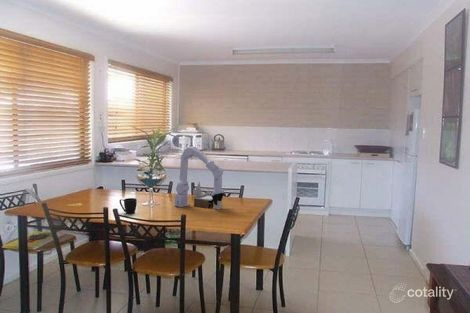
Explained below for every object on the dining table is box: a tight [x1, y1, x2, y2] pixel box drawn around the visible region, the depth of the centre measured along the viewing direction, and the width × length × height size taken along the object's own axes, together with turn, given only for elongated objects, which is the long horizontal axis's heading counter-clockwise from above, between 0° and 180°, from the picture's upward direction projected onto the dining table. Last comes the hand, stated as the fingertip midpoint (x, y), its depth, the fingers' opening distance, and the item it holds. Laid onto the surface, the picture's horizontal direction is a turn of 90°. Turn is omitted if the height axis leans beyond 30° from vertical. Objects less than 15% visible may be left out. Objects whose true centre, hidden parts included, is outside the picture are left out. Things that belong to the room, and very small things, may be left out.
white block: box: [212, 201, 223, 210], centre depth 290 cm, size 4×4×5 cm
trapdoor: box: [196, 194, 213, 201], centre depth 300 cm, size 12×12×2 cm
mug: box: [118, 197, 138, 215], centre depth 272 cm, size 8×12×10 cm
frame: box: [193, 198, 214, 209], centre depth 300 cm, size 15×12×6 cm
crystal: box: [192, 181, 210, 199], centre depth 319 cm, size 10×13×15 cm
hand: (217, 204), depth 290 cm, fingers closed on white block, 4 cm apart
